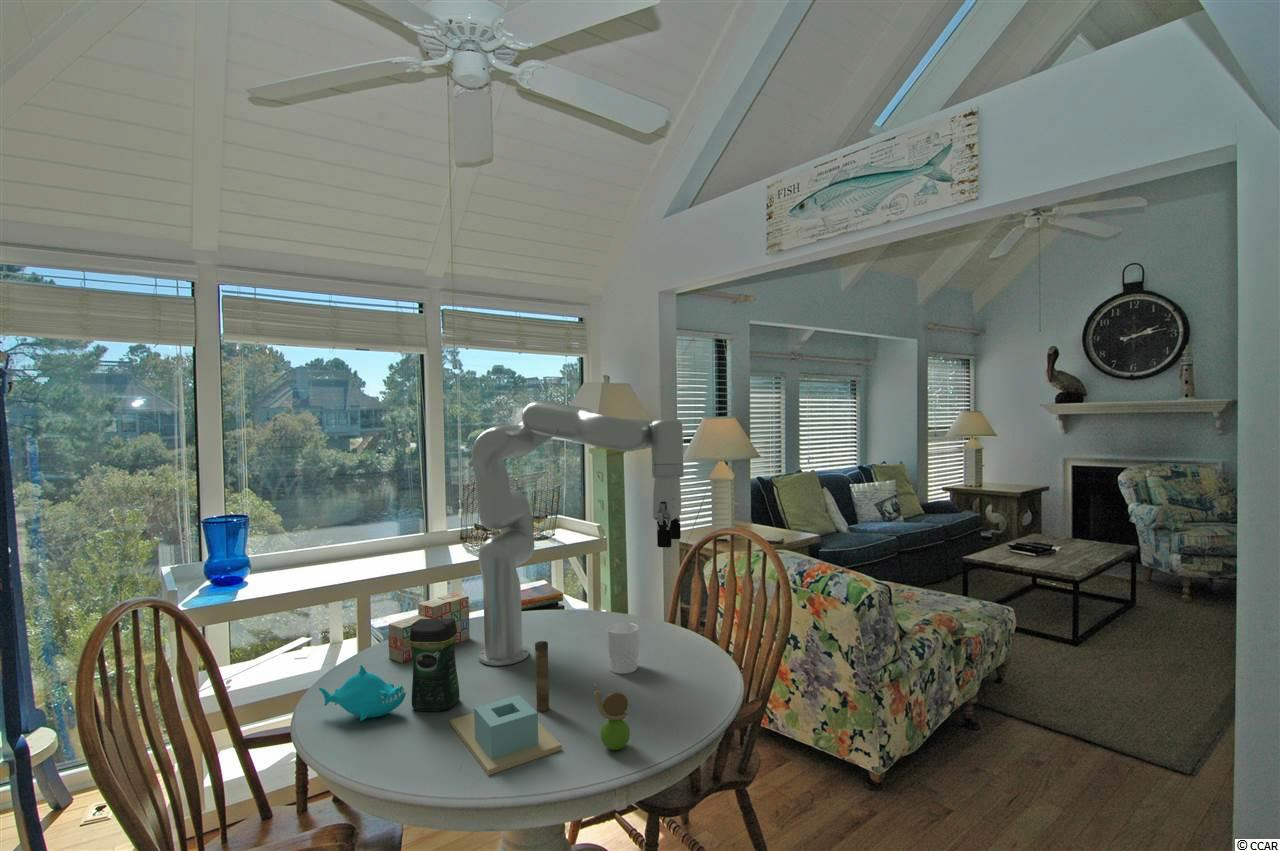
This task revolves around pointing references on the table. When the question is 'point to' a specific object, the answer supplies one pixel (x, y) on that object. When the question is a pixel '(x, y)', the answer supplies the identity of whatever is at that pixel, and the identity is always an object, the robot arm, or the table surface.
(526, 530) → the robot arm
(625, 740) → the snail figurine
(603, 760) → the table surface
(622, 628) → the white cup
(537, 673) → the brown wooden rod
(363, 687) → the toy shark
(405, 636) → the stack of blocks
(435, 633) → the coffee jar
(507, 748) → the shape sorter toy
